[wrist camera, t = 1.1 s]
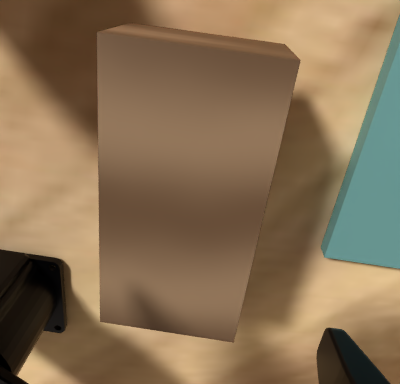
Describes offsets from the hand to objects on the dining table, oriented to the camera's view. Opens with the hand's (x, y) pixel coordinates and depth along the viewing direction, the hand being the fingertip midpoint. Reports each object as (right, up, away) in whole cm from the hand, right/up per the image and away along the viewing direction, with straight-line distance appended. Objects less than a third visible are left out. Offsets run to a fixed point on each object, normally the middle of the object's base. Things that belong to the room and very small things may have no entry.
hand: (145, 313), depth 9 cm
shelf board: (+1, +4, +8) cm, 9 cm away
